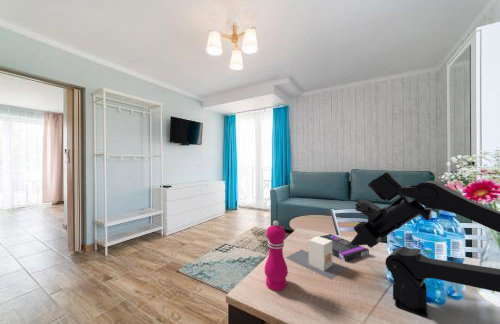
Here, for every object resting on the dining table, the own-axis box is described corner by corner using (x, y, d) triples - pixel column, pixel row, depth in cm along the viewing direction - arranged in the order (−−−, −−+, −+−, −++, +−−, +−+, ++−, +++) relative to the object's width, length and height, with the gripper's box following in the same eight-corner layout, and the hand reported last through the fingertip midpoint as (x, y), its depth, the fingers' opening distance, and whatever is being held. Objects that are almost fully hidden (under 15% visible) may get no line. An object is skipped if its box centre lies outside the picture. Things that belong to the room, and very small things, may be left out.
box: (369, 257, 80) (330, 239, 97) (369, 249, 80) (330, 232, 97) (346, 265, 74) (309, 244, 91) (346, 255, 74) (309, 237, 91)
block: (332, 265, 72) (332, 240, 72) (323, 271, 68) (323, 245, 68) (317, 259, 76) (317, 236, 76) (308, 264, 72) (308, 240, 72)
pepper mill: (274, 295, 56) (274, 225, 56) (259, 282, 62) (259, 219, 62) (292, 286, 60) (292, 221, 60) (277, 275, 66) (276, 216, 66)
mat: (346, 268, 70) (346, 267, 70) (331, 280, 63) (331, 279, 63) (301, 250, 84) (301, 249, 84) (285, 258, 77) (285, 257, 77)
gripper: (383, 188, 65) (349, 215, 73) (361, 195, 53) (323, 226, 61) (414, 217, 59) (373, 242, 67) (397, 232, 47) (349, 260, 55)
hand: (355, 241), depth 63 cm, fingers open, 5 cm apart
